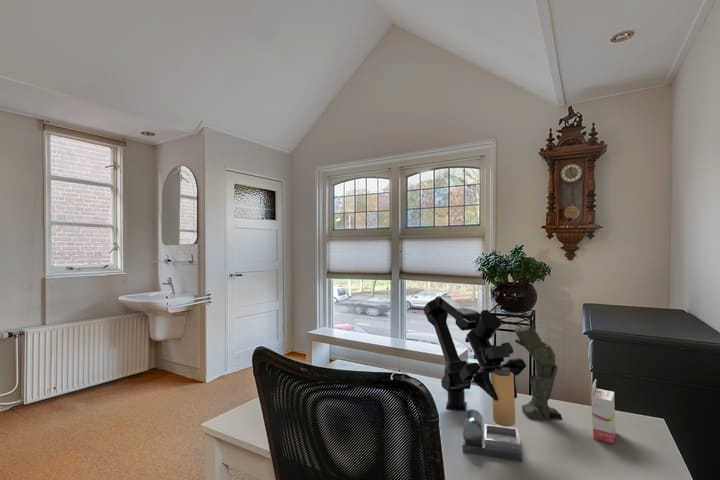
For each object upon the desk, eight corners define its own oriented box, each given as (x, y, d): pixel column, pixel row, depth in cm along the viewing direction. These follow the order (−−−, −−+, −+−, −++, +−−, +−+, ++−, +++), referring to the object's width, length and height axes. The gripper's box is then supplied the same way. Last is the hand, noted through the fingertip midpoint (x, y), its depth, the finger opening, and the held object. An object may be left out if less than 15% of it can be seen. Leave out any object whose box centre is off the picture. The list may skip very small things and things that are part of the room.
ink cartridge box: (614, 444, 97) (611, 390, 97) (592, 439, 100) (590, 386, 100) (616, 432, 103) (614, 381, 104) (596, 427, 106) (593, 377, 107)
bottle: (497, 414, 101) (496, 365, 102) (518, 420, 97) (516, 369, 98) (490, 422, 97) (488, 370, 97) (511, 428, 93) (509, 374, 94)
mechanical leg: (565, 407, 118) (538, 320, 120) (575, 417, 111) (547, 324, 113) (523, 416, 119) (498, 329, 121) (531, 427, 112) (504, 334, 114)
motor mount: (465, 431, 106) (464, 407, 106) (517, 438, 101) (516, 414, 101) (462, 452, 95) (461, 426, 95) (521, 461, 90) (520, 434, 90)
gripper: (463, 335, 100) (487, 389, 89) (520, 330, 104) (550, 381, 93) (450, 355, 107) (471, 408, 96) (505, 350, 111) (530, 400, 100)
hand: (506, 399), depth 96 cm, fingers closed on bottle, 6 cm apart
